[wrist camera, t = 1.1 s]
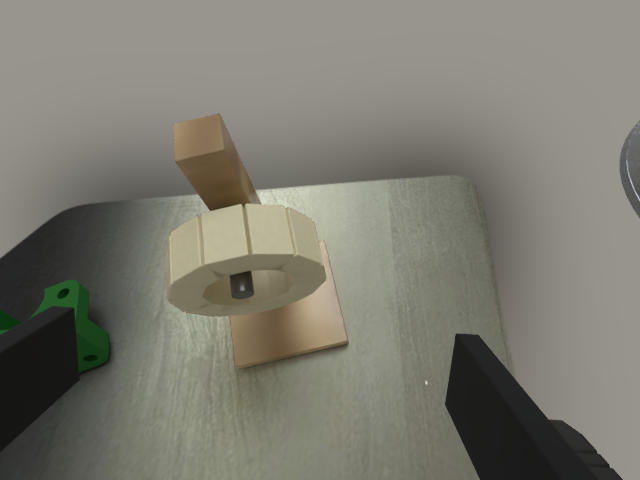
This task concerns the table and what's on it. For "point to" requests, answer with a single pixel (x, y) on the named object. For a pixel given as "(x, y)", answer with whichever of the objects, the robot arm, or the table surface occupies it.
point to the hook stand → (260, 328)
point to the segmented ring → (243, 259)
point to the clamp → (88, 334)
